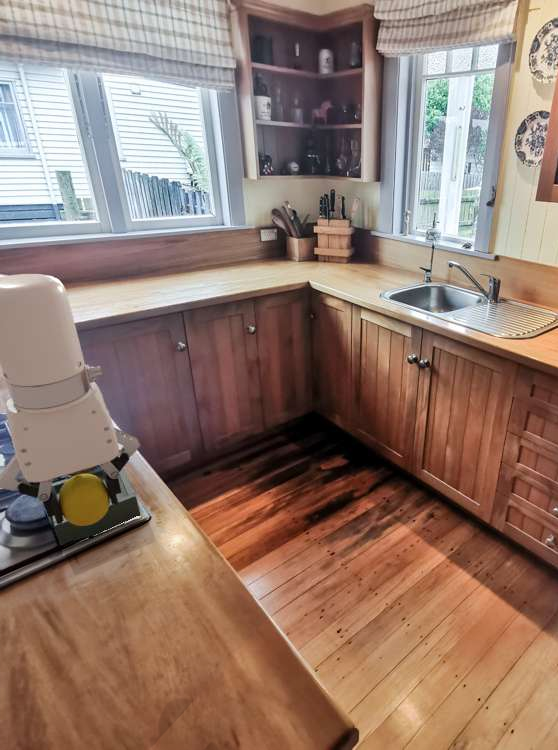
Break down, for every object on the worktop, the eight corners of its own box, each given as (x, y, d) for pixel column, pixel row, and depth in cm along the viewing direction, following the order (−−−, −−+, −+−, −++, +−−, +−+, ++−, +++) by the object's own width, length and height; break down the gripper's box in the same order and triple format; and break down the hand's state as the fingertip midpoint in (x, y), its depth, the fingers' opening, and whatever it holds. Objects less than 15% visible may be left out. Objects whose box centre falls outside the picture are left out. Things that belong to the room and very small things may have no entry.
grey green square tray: (62, 549, 76) (54, 526, 73) (53, 507, 84) (45, 485, 82) (141, 518, 82) (136, 496, 80) (125, 482, 91) (120, 461, 88)
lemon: (100, 503, 65) (87, 457, 62) (123, 519, 63) (111, 472, 59) (58, 527, 61) (42, 479, 58) (82, 545, 59) (66, 496, 55)
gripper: (126, 358, 60) (149, 469, 68) (-46, 391, 51) (5, 516, 59) (140, 380, 55) (163, 499, 63) (-50, 422, 45) (7, 555, 53)
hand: (86, 506), depth 61 cm, fingers closed on lemon, 5 cm apart
